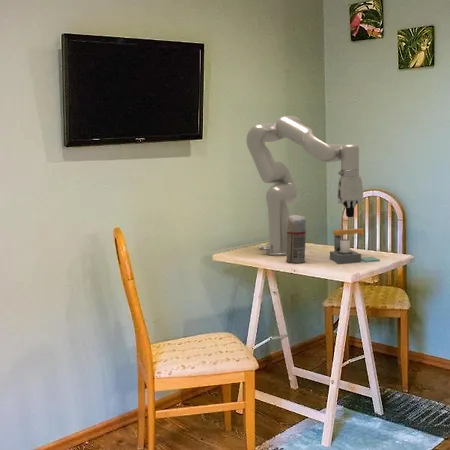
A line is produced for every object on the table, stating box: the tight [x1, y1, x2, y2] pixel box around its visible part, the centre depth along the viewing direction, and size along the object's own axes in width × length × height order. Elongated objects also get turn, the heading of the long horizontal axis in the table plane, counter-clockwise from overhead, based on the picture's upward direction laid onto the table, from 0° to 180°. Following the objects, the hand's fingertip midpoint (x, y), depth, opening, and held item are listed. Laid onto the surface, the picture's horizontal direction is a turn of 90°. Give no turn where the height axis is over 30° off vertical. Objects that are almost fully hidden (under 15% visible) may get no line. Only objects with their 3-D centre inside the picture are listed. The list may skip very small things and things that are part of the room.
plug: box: [339, 238, 352, 254], centre depth 284 cm, size 5×5×9 cm
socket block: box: [329, 249, 362, 265], centre depth 284 cm, size 10×10×4 cm
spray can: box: [285, 214, 307, 264], centre depth 284 cm, size 8×8×20 cm
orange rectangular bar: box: [333, 227, 364, 236], centre depth 292 cm, size 14×4×3 cm, turn 107°
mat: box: [361, 256, 381, 263], centre depth 285 cm, size 7×7×1 cm
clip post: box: [333, 235, 342, 251], centre depth 292 cm, size 5×5×10 cm
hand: (349, 216), depth 284 cm, fingers closed
